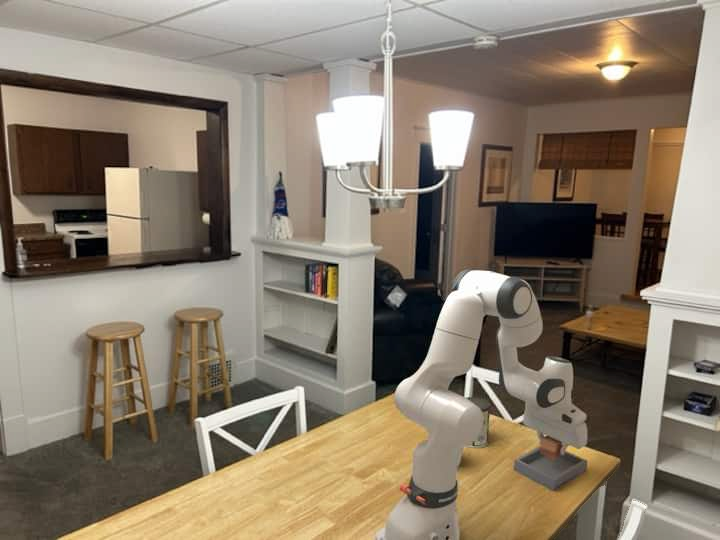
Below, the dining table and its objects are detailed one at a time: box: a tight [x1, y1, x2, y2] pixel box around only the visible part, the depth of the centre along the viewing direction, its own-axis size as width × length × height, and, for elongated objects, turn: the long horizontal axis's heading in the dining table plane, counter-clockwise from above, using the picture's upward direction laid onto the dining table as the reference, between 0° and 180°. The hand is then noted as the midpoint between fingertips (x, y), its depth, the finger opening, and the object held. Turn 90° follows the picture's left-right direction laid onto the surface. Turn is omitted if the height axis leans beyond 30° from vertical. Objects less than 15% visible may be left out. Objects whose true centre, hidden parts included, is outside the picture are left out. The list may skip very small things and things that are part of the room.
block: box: [540, 435, 563, 460], centre depth 162 cm, size 5×5×5 cm
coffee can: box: [464, 396, 491, 449], centre depth 180 cm, size 10×10×14 cm
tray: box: [513, 445, 588, 492], centre depth 162 cm, size 18×14×4 cm
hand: (552, 449), depth 162 cm, fingers closed on block, 5 cm apart
